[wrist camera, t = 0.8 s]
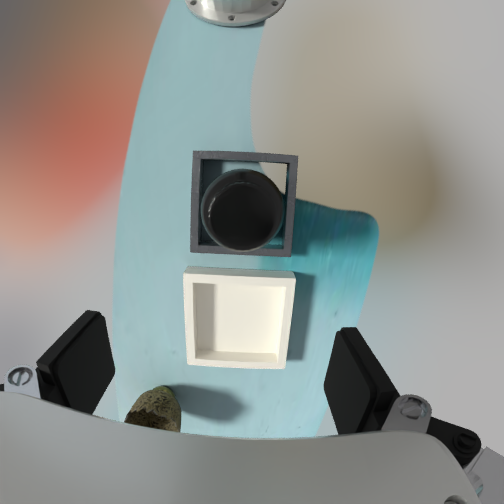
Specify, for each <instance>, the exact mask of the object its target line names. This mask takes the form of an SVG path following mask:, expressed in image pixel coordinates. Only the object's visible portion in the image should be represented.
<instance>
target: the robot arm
mask: <svg viewBox="0 0 504 504" xmlns="http://www.w3.org/2000/svg"><path fill="white" fill-rule="evenodd" d="M285 1H286V0H185V2H186V4H187V7H188V8H189V10H190V11H191V12H192V13H193V14H194V15H195V16H196V17H198V18H199V19H201V20H203V21H205V22H208V23H212V24H215V25H221V26H245V25H250V24H255V23H258V22H261V21H264V20H266V19H268V18H270V17H271V16H273V15H274V14H275V13H277V12H278V11H279V10H280V9H281V8H282V7H283V5H284V3H285ZM231 20H233V21H231ZM36 363H37V366H38V367H37V368H36V369H34V368H33V367H32V366H29V365H18V366H14V367H13V368H11V369H10V370H8V371H7V373H6V374H5V377H4V384H0V504H504V457H503V456H501V455H500V454H498V453H496V452H495V451H493V450H491V449H490V448H488V447H486V448H485V449H483V448H481V441H480V438H479V437H478V436H477V434H476V433H474V432H473V431H471V430H468V429H465V428H462V427H459V426H456V425H454V424H451V423H448V422H445V421H442V420H439V419H436V418H434V417H431V413H432V409H431V406H430V404H429V403H428V402H427V401H426V400H425V399H423V398H421V397H419V396H417V395H402V396H400V395H399V393H398V391H397V390H396V388H395V386H394V385H393V383H392V382H391V380H390V378H389V377H388V375H387V374H386V372H385V371H384V369H383V367H382V366H381V364H380V363H379V361H378V360H377V359H376V357H375V355H374V354H373V353H372V351H371V349H370V348H369V346H368V345H367V343H366V342H365V340H364V338H363V337H362V335H361V334H360V332H359V331H358V329H357V328H356V327H343V328H341V330H340V331H337V332H336V335H335V340H334V344H333V349H332V353H331V357H330V361H329V365H328V369H327V373H326V377H325V381H324V391H325V394H326V397H327V401H328V404H329V407H330V409H331V413H332V416H333V419H334V422H335V425H336V428H337V431H338V434H339V435H331V436H318V437H299V438H238V437H220V436H208V435H198V434H189V433H181V432H173V431H166V430H160V429H154V428H149V427H143V426H138V425H133V424H128V423H124V422H119V421H115V420H111V419H106V418H103V417H99V416H95V415H92V414H93V412H94V410H95V409H96V407H97V405H98V403H99V401H100V399H101V398H102V396H103V394H104V392H105V391H106V389H107V387H108V385H109V384H110V382H111V380H112V378H113V377H114V374H115V366H114V361H113V357H112V352H111V347H110V343H109V338H108V333H107V327H106V321H105V317H104V316H102V315H101V313H100V312H97V311H90V310H87V311H85V313H83V314H82V315H81V316H80V317H79V318H78V319H77V320H76V321H75V322H74V324H72V325H71V326H70V327H69V328H68V329H67V330H66V331H65V332H64V333H63V334H62V336H60V337H59V339H58V340H57V341H56V342H55V343H54V344H53V345H52V346H51V347H50V348H49V349H48V350H47V351H46V352H45V353H44V354H43V355H42V356H41V357H40V359H38V361H37V362H36Z"/></svg>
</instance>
